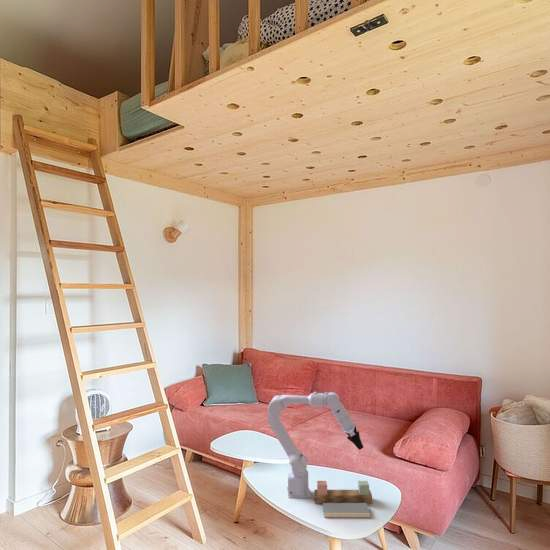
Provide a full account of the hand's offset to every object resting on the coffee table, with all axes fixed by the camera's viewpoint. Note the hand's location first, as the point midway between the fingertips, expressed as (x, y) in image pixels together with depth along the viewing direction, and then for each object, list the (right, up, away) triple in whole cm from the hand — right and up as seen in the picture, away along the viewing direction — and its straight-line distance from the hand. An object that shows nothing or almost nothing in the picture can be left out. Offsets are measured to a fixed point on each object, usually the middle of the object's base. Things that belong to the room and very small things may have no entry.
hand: (360, 445), depth 176 cm
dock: (-9, -22, -13) cm, 27 cm away
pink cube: (-17, -19, -3) cm, 26 cm away
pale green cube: (+1, -18, -4) cm, 19 cm away
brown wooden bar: (-8, -23, -4) cm, 24 cm away
